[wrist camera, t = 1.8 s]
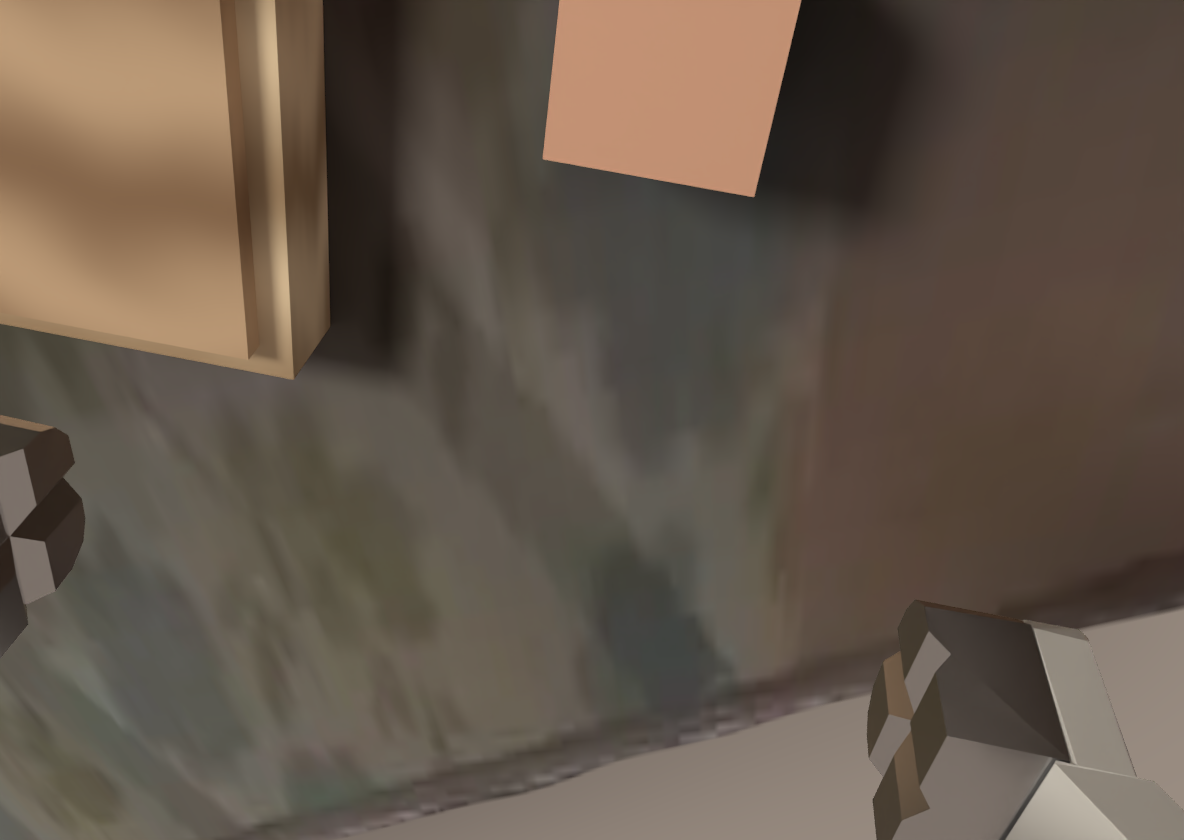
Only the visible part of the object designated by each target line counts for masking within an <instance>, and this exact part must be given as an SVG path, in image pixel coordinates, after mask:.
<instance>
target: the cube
mask: <svg viewBox="0 0 1184 840" xmlns="http://www.w3.org/2000/svg"><path fill="white" fill-rule="evenodd" d="M800 4H801V0H560V2H559V12H558V21H557V30H556V40H555V49H554V58H553V68H552V77H551V86H550V96H549V105H548V114H547V124H546V133H545V142H544V152H543V159H545V160H550V161H556V162H561V163H567V164H572V165H578V166H584V167H589V168H595V169H600V170H606V171H611V172H617V173H622V174H628V175H633V176H639V177H645V178H650V179H656V180H661V181H667V182H672V183H678V184H683V185H689V186H694V187H700V188H706V189H711V190H717V191H722V192H728V193H733V194H739V195H744V196H750V197H754V196H755V191H756V187H757V183H758V179H759V175H760V171H761V166H762V162H763V158H764V154H765V150H766V146H767V141H768V137H769V133H770V129H771V125H772V121H773V116H774V112H775V108H776V104H777V100H778V96H779V91H780V87H781V83H782V79H783V75H784V71H785V66H786V62H787V58H788V54H789V50H790V46H791V41H792V37H793V33H794V29H795V25H796V21H797V16H798V12H799V8H800Z"/></svg>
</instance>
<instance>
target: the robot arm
mask: <svg viewBox="0 0 1184 840" xmlns="http://www.w3.org/2000/svg"><path fill="white" fill-rule="evenodd" d="M74 463H75V461H74V457H73V453H72V449H71V445H70V441H69V437H68V435H67V434H65V433H64V432H62V431H60V430H58V429H57V428H55V427H51V426H47V425H42V424H38V423H33V422H29V421H24V420H20V419H15V418H11V417H6V416H2V415H0V658H1V657H2V656H3V655H4V654H5V652H6V651H7V650H8V649H9V647H10V646H11V645H12V644H13V643H14V641H15V640H16V639H17V638H18V636H19V635H20V634H21V633H22V632H23V630H24V629H25V628H26V627H27V625H28V617H27V607H26V604H28V603H30V602H33V601H35V600H37V599H39V598H41V597H43V596H46V595H48V594H50V593H52V592H54V591H56V590H57V588H58V587H59V586H60V584H61V583H62V582H63V581H64V579H65V578H66V577H67V575H68V574H69V573H70V571H71V570H72V569H73V566H74V564H75V561H76V559H77V556H78V554H79V551H80V549H81V546H82V543H83V540H84V528H85V514H84V508H83V502H82V498H81V497H80V496H79V495H78V494H77V493H76V492H75V490H74V489H73V488H72V487H71V486H70V485H69V484H68V483H67V481H66V480H65V479H64V478H63V477H64V476H65V474H66V473H67V472H68V471H69V470H70V468H71V467H72V466H73V465H74ZM898 636H899V644H900V652H899V653H897V654H895V655H893V656H891V657H890V658H888V659H886V660H884V661H883V663H882V665H881V668H880V670H879V673H878V675H877V678H876V680H875V683H874V685H873V690H872V695H871V700H870V705H869V710H868V722H867V742H868V754H869V759H870V761H871V762H872V763H873V764H874V766H875V767H876V768H877V770H878V771H879V772H880V774H881V775H882V776H883V779H882V781H881V783H880V785H879V788H878V790H877V792H876V794H875V796H874V798H873V807H874V818H875V827H876V837H877V840H1184V810H1183V809H1182V808H1181V807H1180V806H1179V805H1178V804H1177V803H1175V801H1173V800H1172V798H1171V797H1170V796H1169V795H1168V794H1166V792H1164V790H1163V789H1161V788H1160V787H1159V786H1158V785H1157V784H1156V783H1155V782H1154V781H1150V780H1145V779H1141V778H1137V776H1136V773H1135V770H1134V767H1133V764H1132V762H1131V759H1130V756H1129V753H1128V750H1127V747H1126V745H1125V742H1124V739H1123V736H1122V733H1121V730H1120V728H1119V725H1118V722H1117V719H1116V716H1115V713H1114V711H1113V708H1112V705H1111V702H1110V699H1109V697H1108V694H1107V691H1106V688H1105V685H1104V682H1103V679H1102V677H1101V674H1100V671H1099V668H1098V665H1097V663H1096V660H1095V657H1094V654H1093V651H1092V649H1091V646H1090V643H1089V640H1088V638H1087V637H1086V636H1085V635H1084V634H1083V633H1082V632H1081V631H1080V630H1079V629H1073V628H1068V627H1062V626H1057V625H1051V624H1046V623H1040V622H1035V621H1029V620H1023V621H1021V620H1018V619H1014V618H1009V617H1003V616H998V615H993V614H988V613H983V612H977V611H972V610H967V609H962V608H957V607H952V606H946V605H941V604H936V603H931V602H926V601H920V600H914V601H913V602H912V604H911V605H910V606H909V607H908V608H907V609H906V611H905V613H904V616H903V618H902V620H901V622H900V624H899V626H898Z"/></svg>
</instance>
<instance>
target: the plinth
mask: <svg viewBox="0 0 1184 840" xmlns="http://www.w3.org/2000/svg"><path fill="white" fill-rule="evenodd" d="M0 324H5V325H11V326H16V327H21V328H26V329H32V330H37V331H42V332H47V333H52V334H58V335H63V336H68V337H73V338H79V339H84V340H89V341H94V342H99V343H105V344H110V345H115V346H120V347H126V348H131V349H136V350H141V351H146V352H152V353H157V354H162V355H167V356H173V357H178V358H183V359H188V360H193V361H199V362H204V363H209V364H214V365H220V366H225V367H230V368H235V369H240V370H246V371H251V372H256V373H261V374H266V375H272V376H277V377H282V378H287V379H293V380H294V379H295V377H296V376H297V374H298V373H299V371H300V370H301V368H302V367H303V366H304V364H305V363H306V361H307V360H308V358H309V357H310V355H311V354H312V352H313V351H314V349H315V348H316V347H317V345H318V344H319V342H320V341H321V339H322V338H323V336H324V335H325V333H326V332H327V330H328V329H329V328H330V287H329V245H328V202H327V160H326V118H325V75H324V33H323V0H0Z"/></svg>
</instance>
